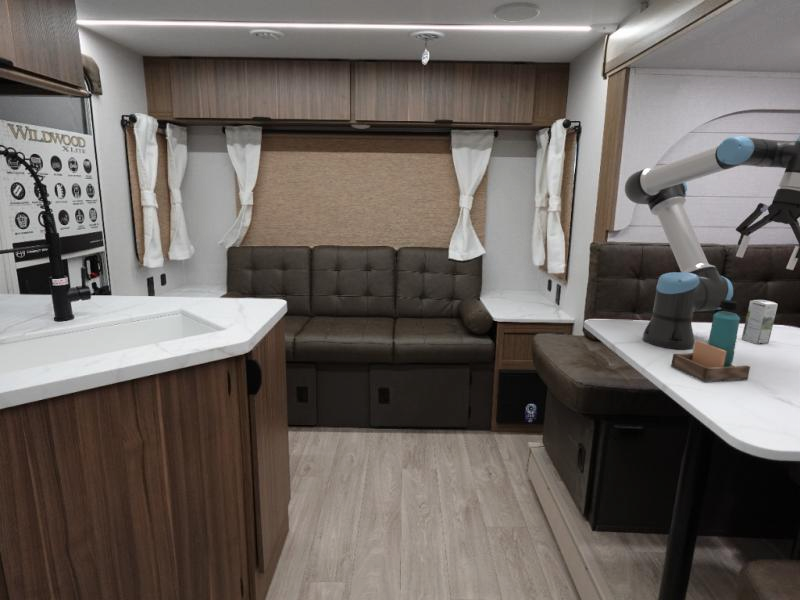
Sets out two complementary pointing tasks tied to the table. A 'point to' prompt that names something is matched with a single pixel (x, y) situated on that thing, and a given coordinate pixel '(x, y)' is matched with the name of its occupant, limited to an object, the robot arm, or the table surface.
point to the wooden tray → (708, 370)
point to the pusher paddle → (708, 355)
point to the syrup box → (759, 321)
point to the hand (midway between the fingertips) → (763, 263)
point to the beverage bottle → (725, 330)
